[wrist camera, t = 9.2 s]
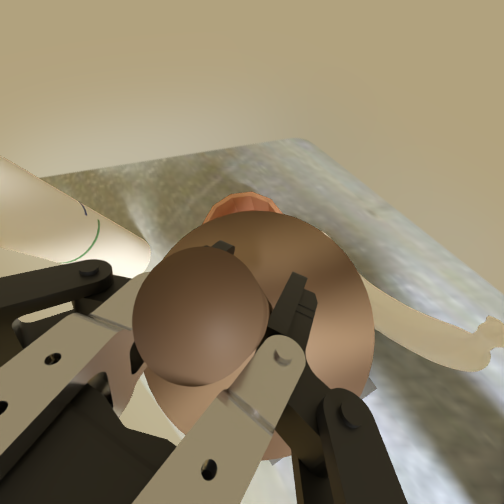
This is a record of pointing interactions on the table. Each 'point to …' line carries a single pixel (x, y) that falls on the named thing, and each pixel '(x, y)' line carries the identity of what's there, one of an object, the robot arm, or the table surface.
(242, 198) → the terracotta bowl
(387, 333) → the banana
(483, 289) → the table surface
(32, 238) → the cylindrical container
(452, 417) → the table surface
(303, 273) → the walnut lid
